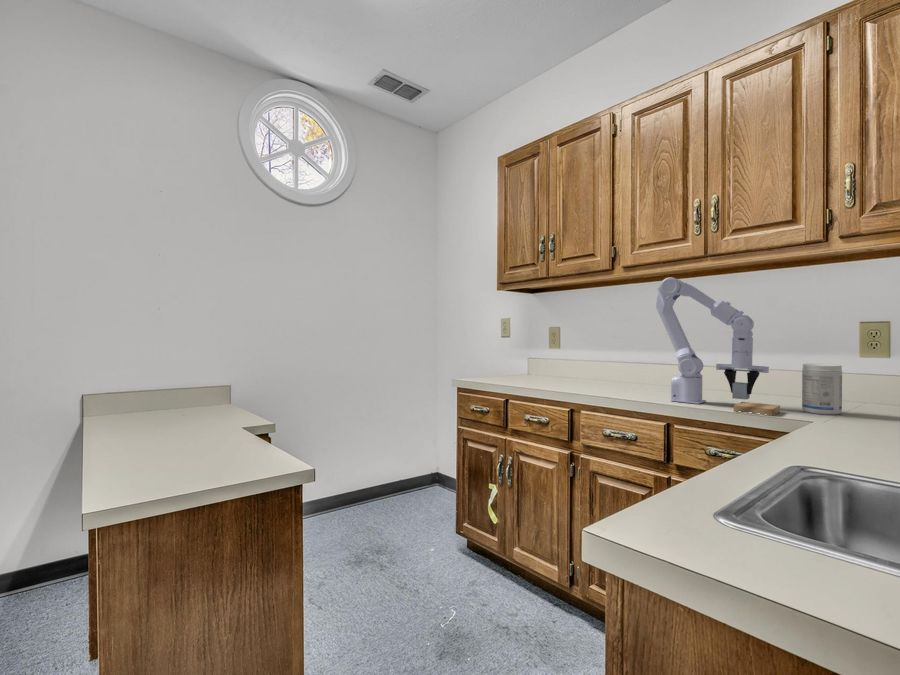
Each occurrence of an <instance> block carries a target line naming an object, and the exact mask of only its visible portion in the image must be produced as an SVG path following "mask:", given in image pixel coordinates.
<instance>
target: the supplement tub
mask: <svg viewBox="0 0 900 675" xmlns="http://www.w3.org/2000/svg"><path fill="white" fill-rule="evenodd" d="M801 375H802V376H801V378H802V379H801V381H802V382H801V383H802V384H801V385H802V387H801V390H802V391H801V408H802V409H801V410H802V411H804V412H805V413H810V414H817V415H827V416H828V415H829V416H830V415H831V416H834V415H835V416H836V415H837V416H838V415H840V414H841V413H842V412H843V370H842V365H841V364H835V363H834V364H833V363H813V362H812V363H803V364H802V372H801Z"/></svg>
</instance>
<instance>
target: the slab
mask: <svg viewBox="0 0 900 675" xmlns="http://www.w3.org/2000/svg"><path fill="white" fill-rule="evenodd" d="M734 411H741V412H752V413H760V414H767V415H774V414H775V415H777V414H779V413H781V405H779V404H771V403H770V404H768V403H758V402H751V401H750V402H749V401H748V402H747V401H741V402H738V403H735V404H733V412H734ZM741 412H740V413H741ZM778 412H779V413H778ZM776 413H777V414H776ZM767 415H766V416H767ZM775 415H774V416H775Z"/></svg>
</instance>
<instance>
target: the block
mask: <svg viewBox="0 0 900 675" xmlns="http://www.w3.org/2000/svg"><path fill="white" fill-rule="evenodd" d="M747 387H748V382H738V381H735V383H733V385H732V399H735V400H737V399H738V400H749V399H750V396H751V394H747Z"/></svg>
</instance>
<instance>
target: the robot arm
mask: <svg viewBox="0 0 900 675" xmlns="http://www.w3.org/2000/svg"><path fill="white" fill-rule="evenodd" d="M681 296H682V297H689V298H692V299H693V300H694V301H696V302H698V303H699V304H701V305H702V306H704V307H706V308H708V309H709V310H710V315H711V316H712V317H714V318H716V319H717V320H719V321H720V322H722V323H724V324H725V325H727V326H731V329H732V335H733V336H732V337H731V341H732V342H731V363H729V364H728V363H716V365H715V367H716V368H715V370H717V371H719V370H721V371H723V373H724V376H725V378H726V380H727V382H728V384H729V388H730V393H732V385H733V383H735V382H736V378H737V377H736V376H737V372H746V377H747V383H748V387H747V394H750V395H752V392H753V388H754V386H755V383H756V381H757V380H758V378H759V376H760V373H763V374H768V373H769V372H770V369H769V368H770V366H764V365H753V349H754V348H753V346H754V344H753V343H754V338H753V335H754V334H753V329H754V325H755V324H754V320H753V318H751V317H750V316H749V315H746V314H744V311H743V310H738V309H737V308H735V307H733V306H732V305H731V304H732V303H731V302H729V301H726V302H725V301H724V300H720V301H719V300H718V301H716V300H715V299H713V298H711V297H710V296H709V295H707V294H705V293H704V292H703V291H701V289H698V288H697V287H696V286H693V285H692V284H689V283H687V282H684V281H682V280H681V279H677V278H675V277H673V276H671V277H669V276H668V277H666V278H664V279H662V281H661V282H660V284H659V285H658V287H657V297H656V301H655V302H656V303H655V308H656V311H657V313H658V315H659V317H660V319H661V322H662V324H663V325H664V328H665V331H666V332H667V335H668V337H669V339H670V341H671V344H672V345H673V348H674V351H675V352H676V359H677V362H678V370H679V375H673V376H672V378H671V381H670V382H671V383H670V400H669V401H670V402H679V403H686V404H687V403H688V404H697V405H700V404H703V403H705V402H707V400H706V399H703V374H701V372H702V371H703V369H704V363H703V360H702V359H701V358H699V357H698V356H697V354H696V352H695V351H694V349H693V348H692V347H691V345H690V342H689V340H688V338H687V336H686V332H684V329H683V327H682V325H681V323H680V321H679V318H678V316H677V313H676V312H675V310H674V308H673V307H674V305H675V303H676V302H677V301H676V300H677V299H678V298H680V297H681Z"/></svg>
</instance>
